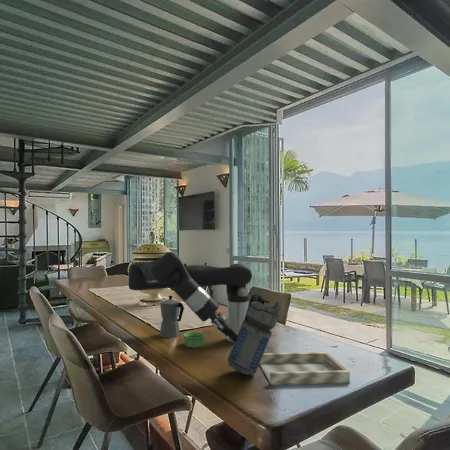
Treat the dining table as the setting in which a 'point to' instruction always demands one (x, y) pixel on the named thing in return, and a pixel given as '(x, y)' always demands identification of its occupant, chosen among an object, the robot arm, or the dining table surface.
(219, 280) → the robot arm
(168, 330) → the coffeepot
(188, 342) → the ramekin
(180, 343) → the dining table surface
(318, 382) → the cream flat rectangular tray
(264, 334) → the beverage bottle
